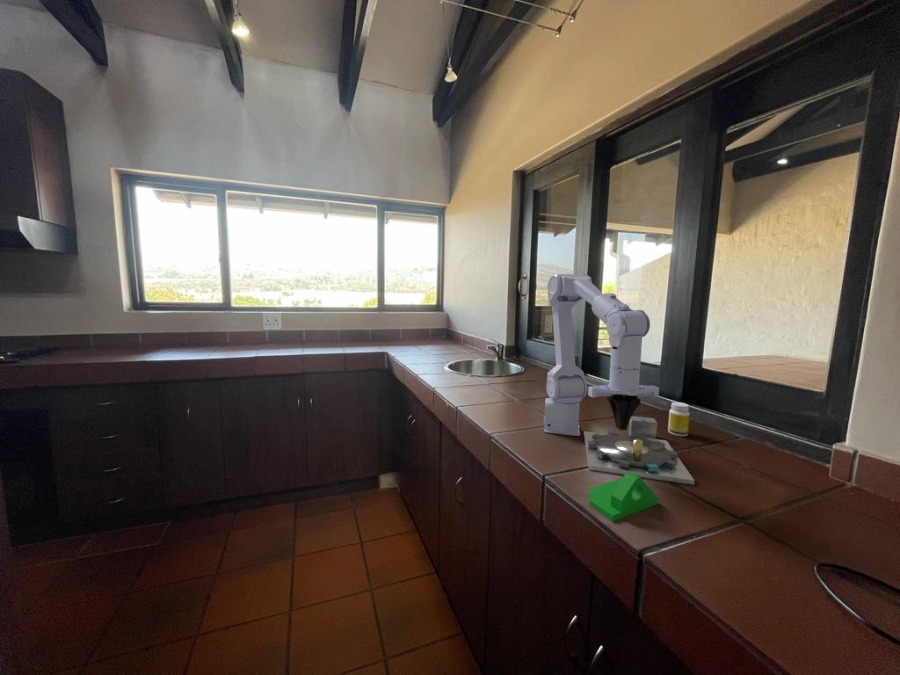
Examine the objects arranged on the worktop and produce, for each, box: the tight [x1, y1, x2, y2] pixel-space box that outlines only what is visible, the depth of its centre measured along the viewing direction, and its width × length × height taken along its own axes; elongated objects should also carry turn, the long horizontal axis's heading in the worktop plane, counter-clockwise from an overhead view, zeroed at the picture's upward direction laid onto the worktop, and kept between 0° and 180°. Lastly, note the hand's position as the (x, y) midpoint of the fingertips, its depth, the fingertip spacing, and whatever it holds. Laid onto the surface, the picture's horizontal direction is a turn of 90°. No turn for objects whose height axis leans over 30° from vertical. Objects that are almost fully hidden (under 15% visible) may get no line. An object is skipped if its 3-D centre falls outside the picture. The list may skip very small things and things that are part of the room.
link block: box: [627, 415, 658, 439], centre depth 94 cm, size 6×4×5 cm, turn 72°
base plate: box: [583, 431, 696, 486], centre depth 83 cm, size 20×20×1 cm
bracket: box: [588, 472, 659, 522], centre depth 65 cm, size 12×8×7 cm, turn 115°
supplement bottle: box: [667, 401, 691, 437], centre depth 96 cm, size 5×5×8 cm
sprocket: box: [588, 431, 679, 471], centre depth 82 cm, size 19×19×5 cm
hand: (621, 428), depth 75 cm, fingers closed
